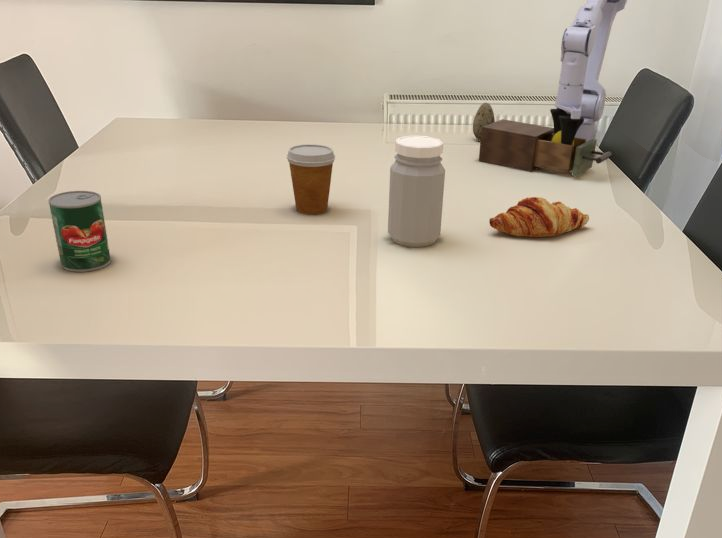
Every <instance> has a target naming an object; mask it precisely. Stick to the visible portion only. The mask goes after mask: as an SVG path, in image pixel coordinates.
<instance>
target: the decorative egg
mask: <svg viewBox="0 0 722 538" xmlns="http://www.w3.org/2000/svg"><path fill="white" fill-rule="evenodd" d="M495 119H496V118H495V113H494V110H493V107H492V105H491V104H490V103H488V102H483V103H482V104H480V106H479V107H478V109H477V111H476V113H475V116H474V118H473V122H472V133H473V135H474V137H475V138H476V140H478V141H479V142H481V131H482V127H483V126H486V125H488V124H491V123H494V122H496V120H495Z"/></svg>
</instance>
